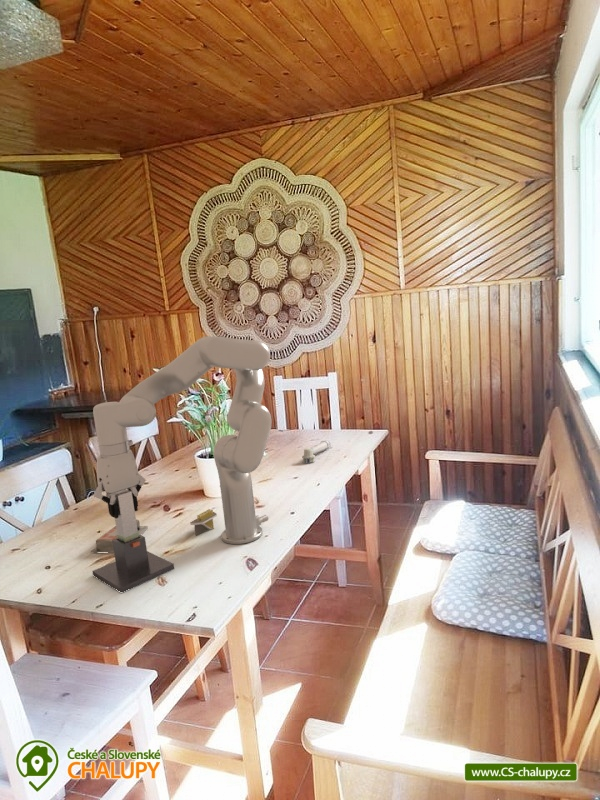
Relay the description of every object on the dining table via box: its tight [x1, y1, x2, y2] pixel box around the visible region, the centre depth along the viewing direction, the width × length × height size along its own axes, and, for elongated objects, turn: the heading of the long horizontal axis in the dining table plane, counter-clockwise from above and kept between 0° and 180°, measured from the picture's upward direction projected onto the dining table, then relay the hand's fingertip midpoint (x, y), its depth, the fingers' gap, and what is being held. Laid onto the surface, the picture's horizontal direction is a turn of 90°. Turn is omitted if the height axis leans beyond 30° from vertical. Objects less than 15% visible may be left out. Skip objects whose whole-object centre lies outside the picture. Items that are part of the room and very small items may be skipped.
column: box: [114, 489, 139, 544], centre depth 156 cm, size 4×4×16 cm
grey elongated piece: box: [301, 440, 331, 464], centre depth 255 cm, size 5×7×25 cm
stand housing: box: [92, 535, 175, 593], centre depth 158 cm, size 16×16×10 cm
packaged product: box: [90, 519, 149, 554], centre depth 181 cm, size 18×5×10 cm
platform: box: [189, 509, 218, 537], centre depth 182 cm, size 12×18×7 cm, turn 148°
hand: (124, 512), depth 156 cm, fingers open, 5 cm apart
